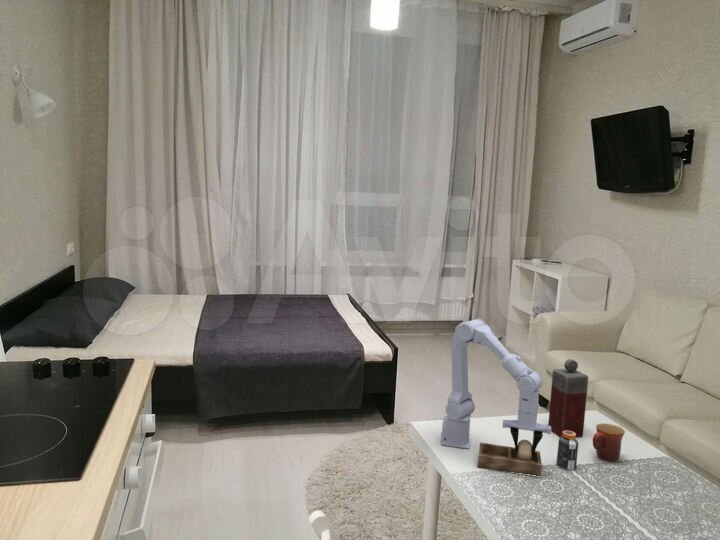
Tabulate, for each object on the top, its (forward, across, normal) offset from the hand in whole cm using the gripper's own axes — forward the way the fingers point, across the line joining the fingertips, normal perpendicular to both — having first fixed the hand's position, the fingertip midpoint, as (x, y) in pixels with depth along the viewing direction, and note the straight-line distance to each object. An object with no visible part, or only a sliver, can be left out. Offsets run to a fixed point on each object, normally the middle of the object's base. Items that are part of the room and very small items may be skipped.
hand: (524, 451), depth 167 cm
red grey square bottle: (+6, -16, -35) cm, 39 cm away
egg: (+2, 0, 0) cm, 2 cm away
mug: (+6, -26, -16) cm, 31 cm away
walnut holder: (+5, +4, 0) cm, 7 cm away
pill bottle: (+6, -14, -6) cm, 16 cm away
